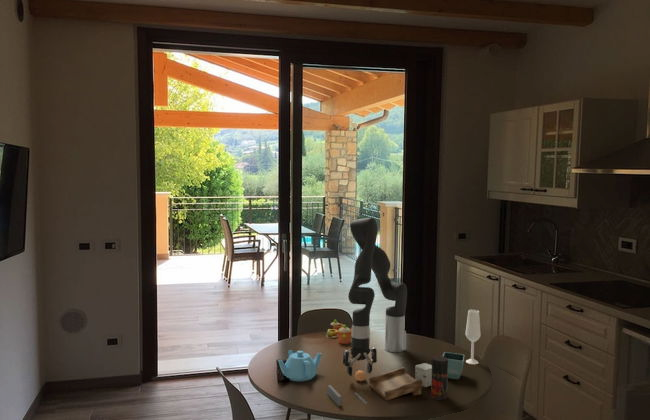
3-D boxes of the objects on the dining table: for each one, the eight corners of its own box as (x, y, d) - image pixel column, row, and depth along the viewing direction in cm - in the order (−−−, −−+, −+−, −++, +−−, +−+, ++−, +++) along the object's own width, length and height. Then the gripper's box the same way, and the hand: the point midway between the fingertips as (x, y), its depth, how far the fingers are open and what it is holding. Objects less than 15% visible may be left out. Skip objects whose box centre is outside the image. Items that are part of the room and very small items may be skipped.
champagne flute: (463, 364, 230) (465, 312, 228) (465, 359, 236) (466, 308, 234) (479, 366, 227) (480, 313, 226) (480, 361, 233) (482, 310, 232)
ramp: (403, 381, 209) (404, 366, 209) (422, 394, 196) (422, 379, 196) (368, 386, 203) (369, 371, 203) (385, 400, 190) (385, 385, 190)
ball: (362, 378, 211) (363, 368, 211) (367, 382, 207) (367, 371, 207) (353, 379, 210) (353, 369, 210) (357, 383, 206) (358, 373, 205)
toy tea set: (369, 343, 259) (370, 324, 258) (345, 348, 250) (345, 329, 250) (340, 330, 281) (340, 312, 280) (316, 334, 272) (317, 316, 272)
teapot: (275, 380, 208) (275, 355, 207) (288, 368, 222) (288, 344, 221) (310, 385, 203) (311, 359, 203) (321, 372, 218) (322, 347, 217)
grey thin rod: (351, 388, 201) (351, 387, 201) (368, 403, 187) (368, 403, 187) (349, 388, 201) (349, 388, 201) (365, 404, 187) (365, 403, 187)
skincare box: (414, 382, 208) (414, 365, 207) (424, 379, 211) (424, 362, 211) (425, 387, 203) (426, 369, 202) (435, 384, 206) (436, 366, 206)
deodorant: (429, 393, 197) (430, 356, 196) (444, 393, 197) (445, 355, 197) (433, 400, 191) (434, 361, 190) (449, 400, 192) (450, 361, 191)
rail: (330, 393, 196) (330, 384, 195) (341, 405, 185) (341, 396, 185) (327, 394, 195) (327, 385, 195) (338, 406, 185) (338, 396, 185)
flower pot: (464, 374, 217) (464, 354, 217) (462, 382, 209) (463, 361, 208) (443, 371, 220) (443, 351, 219) (441, 379, 212) (441, 358, 211)
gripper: (372, 331, 214) (371, 369, 214) (341, 334, 208) (340, 372, 209) (380, 336, 207) (379, 375, 207) (348, 339, 201) (347, 379, 202)
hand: (359, 374), depth 208 cm, fingers open, 8 cm apart
